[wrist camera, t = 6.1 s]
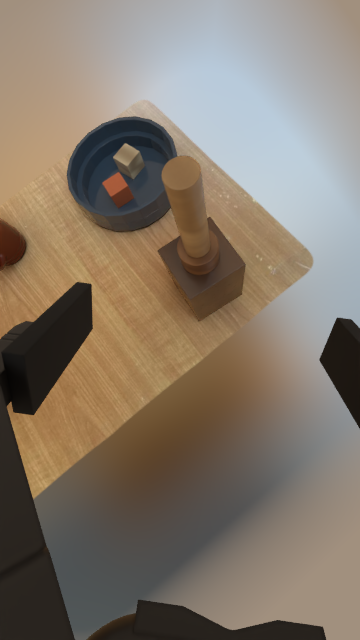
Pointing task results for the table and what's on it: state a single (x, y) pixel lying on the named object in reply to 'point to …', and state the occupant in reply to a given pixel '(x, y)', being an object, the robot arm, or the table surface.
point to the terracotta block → (118, 190)
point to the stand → (207, 276)
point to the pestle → (190, 215)
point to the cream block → (129, 161)
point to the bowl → (98, 165)
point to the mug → (10, 244)
